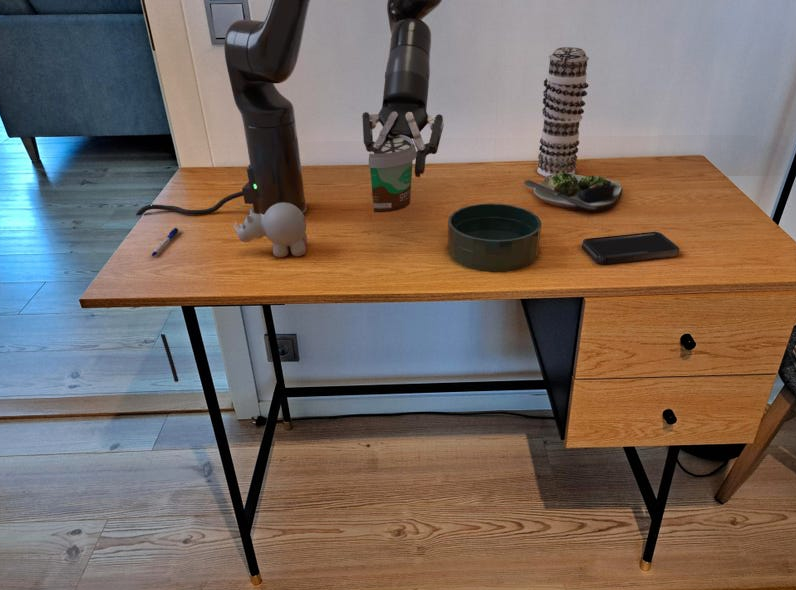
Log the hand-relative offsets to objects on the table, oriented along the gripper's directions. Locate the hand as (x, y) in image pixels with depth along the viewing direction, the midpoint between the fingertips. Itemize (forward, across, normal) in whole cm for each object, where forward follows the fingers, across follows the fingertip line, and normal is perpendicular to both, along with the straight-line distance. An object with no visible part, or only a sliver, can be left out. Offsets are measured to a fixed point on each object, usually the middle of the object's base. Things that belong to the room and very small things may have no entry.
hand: (397, 173), depth 107 cm
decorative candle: (-20, -29, -37) cm, 51 cm away
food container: (+4, 0, -3) cm, 5 cm away
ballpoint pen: (+13, +41, -5) cm, 43 cm away
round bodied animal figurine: (+13, +21, -5) cm, 25 cm away
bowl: (+10, -16, -8) cm, 21 cm away
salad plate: (-9, -33, -26) cm, 43 cm away
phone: (+8, -40, -10) cm, 42 cm away
